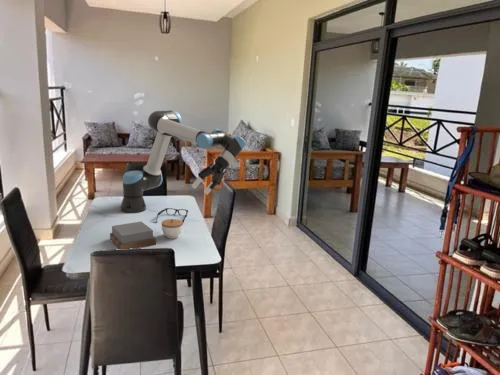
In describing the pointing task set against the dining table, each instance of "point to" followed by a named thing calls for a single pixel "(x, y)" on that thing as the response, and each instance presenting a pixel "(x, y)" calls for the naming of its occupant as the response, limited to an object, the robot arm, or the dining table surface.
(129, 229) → the charcoal grey block
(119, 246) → the walnut block
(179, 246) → the dining table surface
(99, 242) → the dining table surface
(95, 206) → the dining table surface
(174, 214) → the glasses
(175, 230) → the lidded jar
